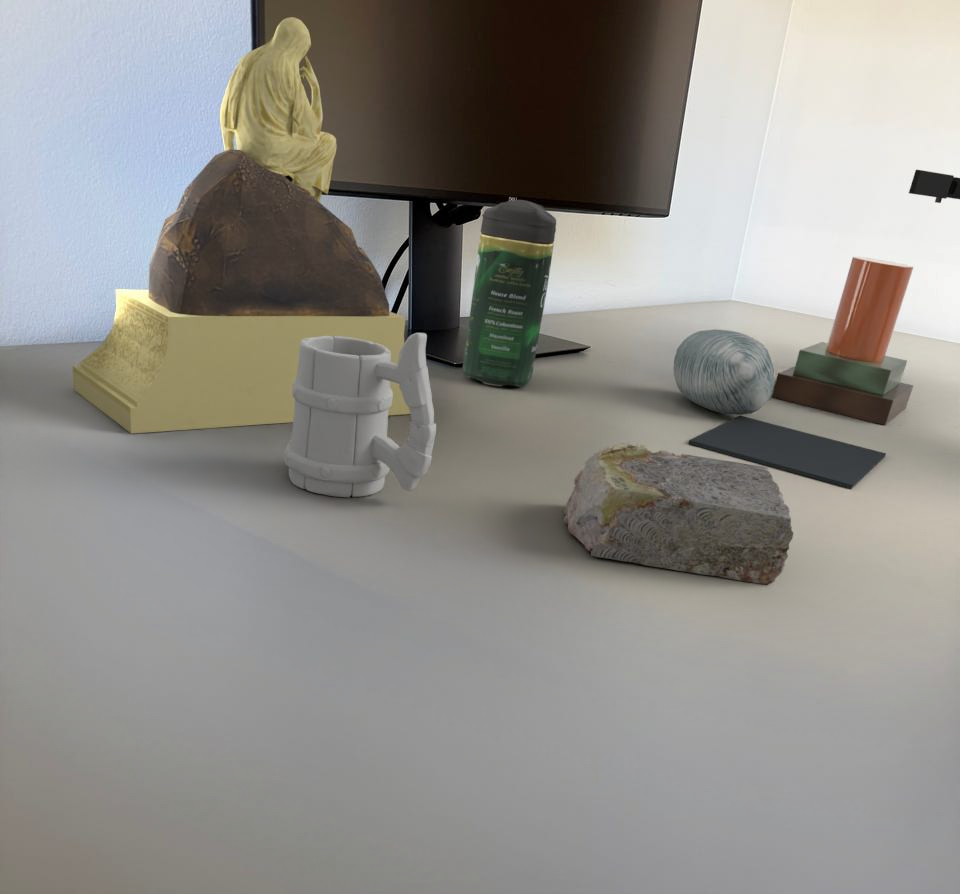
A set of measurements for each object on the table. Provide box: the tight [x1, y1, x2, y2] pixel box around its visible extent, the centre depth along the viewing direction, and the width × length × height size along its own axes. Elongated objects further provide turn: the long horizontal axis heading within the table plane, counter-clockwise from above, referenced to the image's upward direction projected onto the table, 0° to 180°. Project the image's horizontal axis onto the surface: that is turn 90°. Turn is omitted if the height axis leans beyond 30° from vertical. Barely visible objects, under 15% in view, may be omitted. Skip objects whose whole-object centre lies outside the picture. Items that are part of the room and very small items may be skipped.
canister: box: [826, 256, 914, 362], centre depth 118 cm, size 7×7×11 cm
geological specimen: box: [563, 442, 794, 585], centre depth 69 cm, size 11×6×15 cm
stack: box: [771, 341, 914, 426], centre depth 122 cm, size 14×14×6 cm
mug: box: [284, 332, 437, 498], centre depth 69 cm, size 8×12×12 cm, turn 59°
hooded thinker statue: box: [72, 16, 411, 435], centre depth 81 cm, size 28×13×30 cm, turn 129°
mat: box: [688, 415, 887, 490], centre depth 98 cm, size 16×16×1 cm
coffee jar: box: [462, 199, 557, 388], centre depth 105 cm, size 10×8×19 cm
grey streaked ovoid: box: [673, 328, 775, 416], centre depth 109 cm, size 14×10×10 cm
